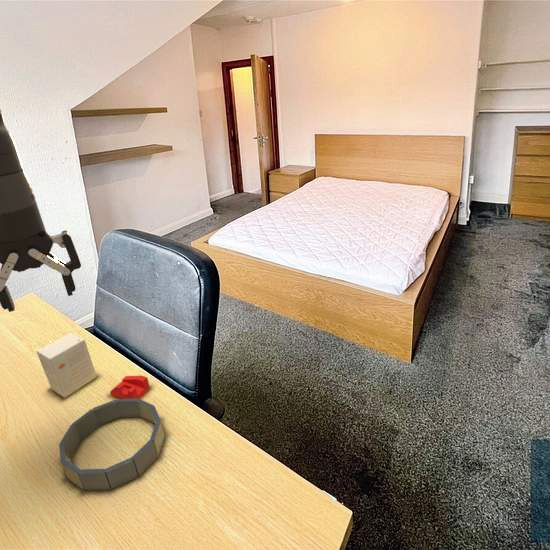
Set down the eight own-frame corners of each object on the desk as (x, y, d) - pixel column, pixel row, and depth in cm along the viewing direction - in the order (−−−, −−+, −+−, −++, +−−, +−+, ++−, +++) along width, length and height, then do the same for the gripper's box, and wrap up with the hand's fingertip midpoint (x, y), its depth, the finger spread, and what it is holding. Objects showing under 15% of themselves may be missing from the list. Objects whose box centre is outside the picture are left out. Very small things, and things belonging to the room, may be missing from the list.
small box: (83, 369, 95) (71, 331, 91) (97, 377, 92) (85, 338, 88) (50, 389, 90) (35, 350, 85) (64, 398, 87) (49, 358, 82)
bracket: (150, 388, 88) (147, 377, 86) (134, 403, 84) (131, 392, 83) (127, 381, 90) (124, 370, 89) (111, 395, 87) (107, 384, 85)
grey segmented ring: (70, 508, 64) (63, 491, 62) (63, 437, 77) (57, 421, 75) (174, 460, 71) (170, 443, 69) (151, 402, 84) (147, 387, 82)
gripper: (58, 190, 65) (85, 281, 72) (-49, 208, 59) (-8, 305, 66) (61, 200, 59) (91, 298, 66) (-57, 221, 53) (-11, 325, 60)
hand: (41, 301), depth 66 cm, fingers open, 8 cm apart
